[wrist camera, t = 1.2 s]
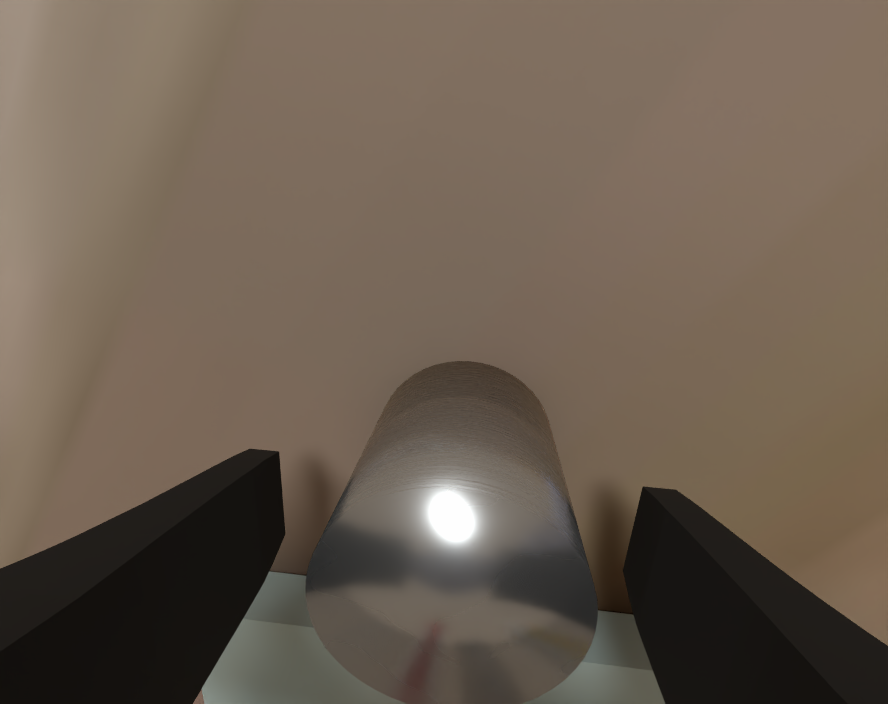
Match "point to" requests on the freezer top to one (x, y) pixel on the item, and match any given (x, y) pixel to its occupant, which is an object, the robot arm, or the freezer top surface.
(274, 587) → the scale
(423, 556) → the cylinder
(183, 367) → the freezer top surface
